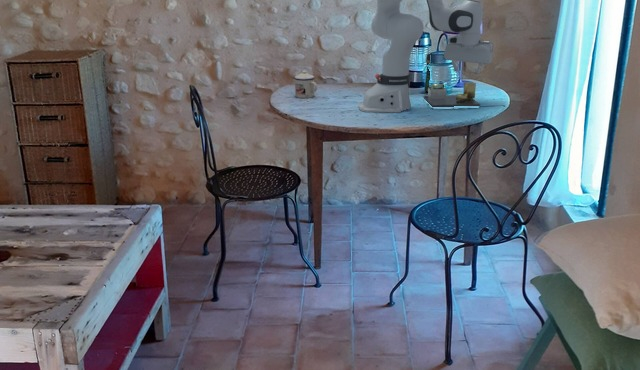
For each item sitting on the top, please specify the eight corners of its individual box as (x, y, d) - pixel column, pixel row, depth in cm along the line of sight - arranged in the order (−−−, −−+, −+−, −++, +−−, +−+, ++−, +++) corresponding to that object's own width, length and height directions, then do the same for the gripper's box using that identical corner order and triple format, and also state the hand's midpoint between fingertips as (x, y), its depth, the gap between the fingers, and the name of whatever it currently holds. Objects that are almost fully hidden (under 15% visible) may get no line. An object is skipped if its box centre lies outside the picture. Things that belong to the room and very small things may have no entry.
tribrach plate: (432, 109, 273) (433, 90, 270) (423, 100, 290) (424, 82, 287) (480, 108, 274) (481, 89, 271) (468, 99, 291) (469, 81, 288)
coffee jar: (434, 95, 300) (436, 54, 293) (421, 92, 305) (423, 52, 299) (448, 92, 305) (450, 51, 299) (435, 89, 311) (437, 50, 305)
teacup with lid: (290, 96, 300) (290, 71, 296) (304, 93, 306) (304, 68, 302) (309, 100, 292) (309, 74, 288) (323, 96, 298) (323, 71, 294)
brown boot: (463, 101, 276) (464, 87, 274) (453, 99, 280) (454, 85, 277) (477, 97, 284) (478, 83, 281) (467, 95, 287) (468, 81, 285)
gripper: (495, 40, 273) (492, 73, 278) (449, 37, 283) (446, 69, 288) (491, 42, 268) (487, 75, 273) (444, 38, 278) (441, 71, 283)
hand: (466, 72), depth 280 cm, fingers open, 8 cm apart
